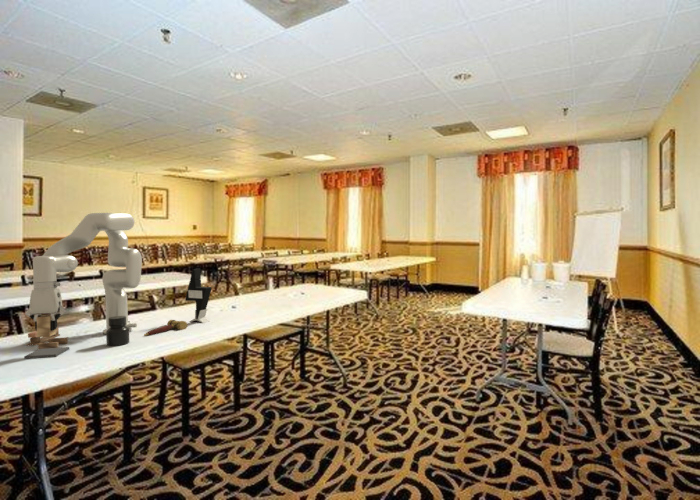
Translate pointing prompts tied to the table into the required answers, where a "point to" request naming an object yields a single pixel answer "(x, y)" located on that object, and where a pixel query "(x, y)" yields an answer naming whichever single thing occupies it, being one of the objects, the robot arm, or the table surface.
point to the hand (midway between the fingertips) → (46, 329)
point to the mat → (46, 352)
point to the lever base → (44, 339)
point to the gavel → (168, 327)
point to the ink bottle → (117, 331)
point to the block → (44, 326)
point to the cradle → (53, 343)
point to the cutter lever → (32, 334)
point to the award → (198, 296)
